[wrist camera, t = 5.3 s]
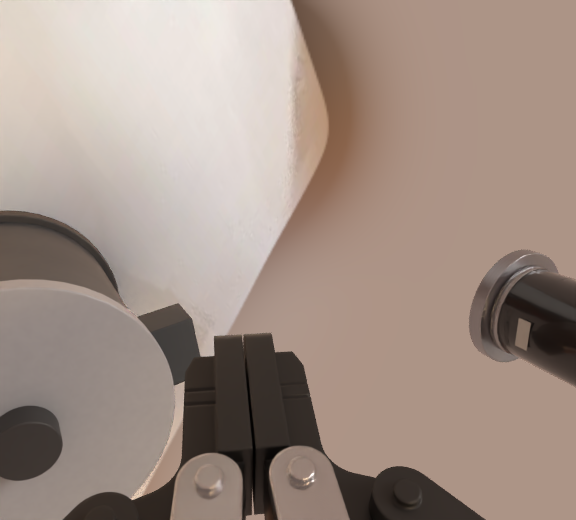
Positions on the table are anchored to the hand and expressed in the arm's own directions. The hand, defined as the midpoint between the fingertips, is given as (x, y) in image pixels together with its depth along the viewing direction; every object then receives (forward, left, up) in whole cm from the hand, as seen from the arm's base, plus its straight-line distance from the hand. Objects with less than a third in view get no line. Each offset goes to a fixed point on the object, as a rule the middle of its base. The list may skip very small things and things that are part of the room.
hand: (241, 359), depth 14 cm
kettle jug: (+7, +6, -21) cm, 23 cm away
